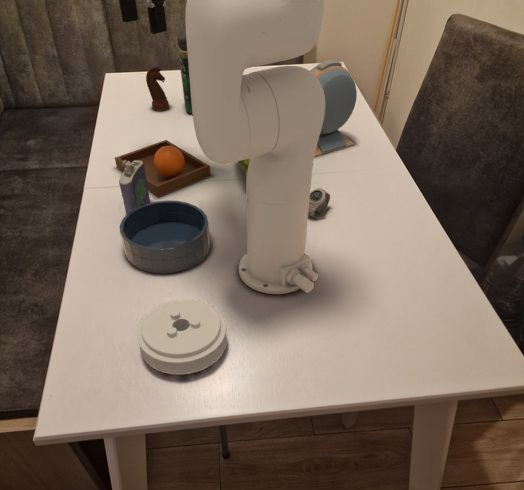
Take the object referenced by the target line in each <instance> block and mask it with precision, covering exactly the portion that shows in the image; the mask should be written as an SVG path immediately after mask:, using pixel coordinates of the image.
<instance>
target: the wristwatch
mask: <svg viewBox="0 0 524 490" xmlns="http://www.w3.org/2000/svg"><path fill="white" fill-rule="evenodd" d="M330 200H331V194H330V193H328V192H327V190H325V189H323V188H319V187H318V188H315V189H313V190H312V191H310V197H309V209H308V217H311V218H315V219H317V217H319V216H320V215H322V214H324V212H325V211H326V210H327V209H328V206H329V204H330Z"/></svg>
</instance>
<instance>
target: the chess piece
mask: <svg viewBox="0 0 524 490" xmlns="http://www.w3.org/2000/svg"><path fill="white" fill-rule="evenodd" d="M161 71H162V69H161V68H160V67H159V66H158V65H157V66H153V67H151V68H149V69H148V71H147V72H146V75H145V82H146V85H147V88H148V92H149V94H150V97H151V99H152V101H151V108H152V110H153V111H155V112H165V111H168V110H169V109H170V102H169V100H168V96H166V93H165V91H164V90H163V87H162V86H161V85H160V83H159V82H158V81H160V82H162V83H165V81H166V77H164V76H163V74H162V73H161Z"/></svg>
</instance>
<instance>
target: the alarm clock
mask: <svg viewBox="0 0 524 490" xmlns="http://www.w3.org/2000/svg"><path fill="white" fill-rule="evenodd" d="M342 64H343V63H342V62H340V61H338V60H335V59H327V60H323V61H321V62H320V63H318V64H317V65H316V66H314V67H313V68H312V69H309V71H311V72H312V73H313V74H314V75H315V76H316V77H317V78H318V80H319V81H320V83H321V85H322V88H323V91H324V95H325V116H324V121H323V125H322V129H321V133H320V136H319V139H318V143H317V147H316V151H315V155H314V158H315V157H319V156H322V155H325V154H329V153H332V152H335V151H338V150H341V149H345V148H348V147H352V146H355V142H353V141H352V140H350V138H348V137H346V136H345V135H343V134H342V132H341V131H340V130H339V129H341V128H342V127H343V126H344V125H345V124H346V123H347V122H348V121H349V119H350V118H351V116H352V114H353V112H354V109H355V106H356V102H357V96H358V94H357V86H356V82H355V80H354V78H353V76H352V75H351V73H350V71H349V70H348V69H346V67H344V66H343V65H342Z"/></svg>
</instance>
